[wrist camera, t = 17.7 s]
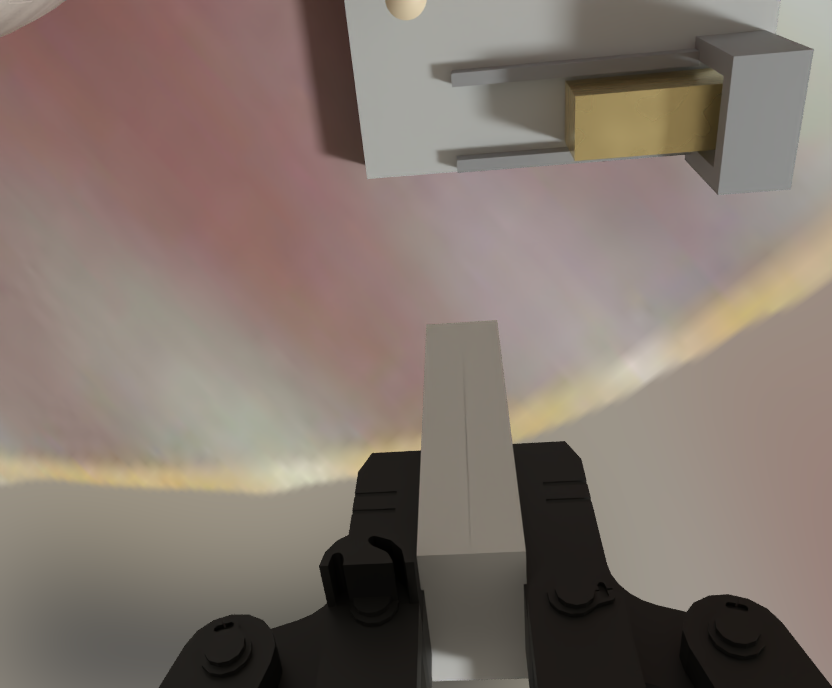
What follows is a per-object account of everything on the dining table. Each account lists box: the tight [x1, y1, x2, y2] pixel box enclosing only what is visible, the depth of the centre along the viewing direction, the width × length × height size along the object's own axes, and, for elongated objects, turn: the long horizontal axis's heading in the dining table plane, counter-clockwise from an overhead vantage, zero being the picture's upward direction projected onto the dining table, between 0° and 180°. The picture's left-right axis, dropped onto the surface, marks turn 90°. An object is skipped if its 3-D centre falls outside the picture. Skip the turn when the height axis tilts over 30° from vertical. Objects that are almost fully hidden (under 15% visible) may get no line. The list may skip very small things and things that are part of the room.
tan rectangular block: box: [565, 68, 724, 161], centre depth 34 cm, size 7×3×3 cm, turn 95°
